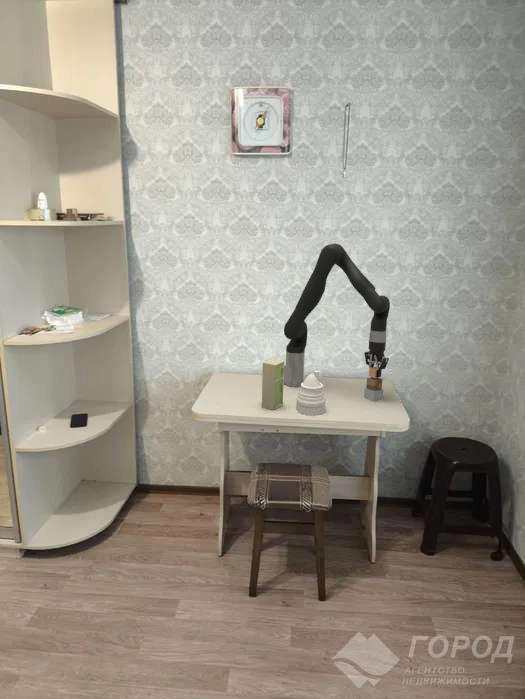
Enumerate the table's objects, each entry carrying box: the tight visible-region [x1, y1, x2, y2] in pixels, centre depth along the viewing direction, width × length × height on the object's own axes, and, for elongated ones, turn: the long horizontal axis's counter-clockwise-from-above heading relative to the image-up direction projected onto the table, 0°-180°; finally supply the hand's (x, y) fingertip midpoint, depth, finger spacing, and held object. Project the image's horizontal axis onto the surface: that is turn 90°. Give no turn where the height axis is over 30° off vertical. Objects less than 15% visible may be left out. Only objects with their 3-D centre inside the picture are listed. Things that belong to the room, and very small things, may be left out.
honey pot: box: [295, 370, 327, 416], centre depth 232 cm, size 13×13×18 cm
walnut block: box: [365, 376, 383, 391], centre depth 246 cm, size 5×5×5 cm
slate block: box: [363, 387, 384, 403], centre depth 247 cm, size 6×6×5 cm
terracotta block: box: [368, 366, 383, 378], centre depth 245 cm, size 4×4×4 cm
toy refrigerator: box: [261, 358, 285, 411], centre depth 235 cm, size 8×7×21 cm
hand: (374, 375), depth 245 cm, fingers closed on terracotta block, 3 cm apart
